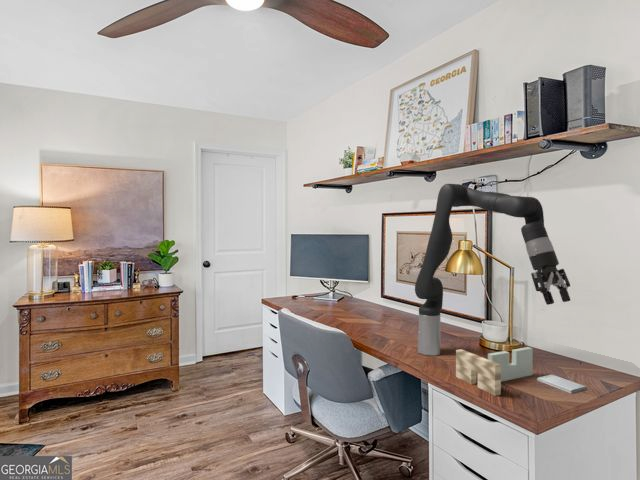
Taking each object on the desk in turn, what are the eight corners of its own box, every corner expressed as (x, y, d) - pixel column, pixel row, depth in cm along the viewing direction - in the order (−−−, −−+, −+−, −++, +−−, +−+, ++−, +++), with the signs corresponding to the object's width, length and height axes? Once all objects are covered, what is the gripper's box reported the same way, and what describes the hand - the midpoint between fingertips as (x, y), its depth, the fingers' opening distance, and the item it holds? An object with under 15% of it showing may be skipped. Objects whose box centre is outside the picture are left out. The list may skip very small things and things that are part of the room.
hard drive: (587, 386, 133) (552, 373, 144) (571, 390, 130) (537, 377, 141) (586, 391, 133) (552, 378, 144) (570, 395, 130) (536, 381, 141)
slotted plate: (492, 383, 138) (492, 355, 138) (487, 381, 140) (487, 353, 140) (532, 375, 146) (532, 348, 146) (527, 373, 148) (527, 347, 147)
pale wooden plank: (500, 394, 129) (500, 364, 129) (494, 395, 128) (495, 365, 128) (461, 375, 146) (461, 349, 145) (455, 376, 145) (456, 350, 144)
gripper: (544, 256, 133) (561, 303, 129) (517, 257, 127) (533, 307, 122) (565, 249, 127) (583, 298, 122) (538, 250, 121) (556, 302, 116)
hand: (558, 302), depth 122 cm, fingers open, 8 cm apart
